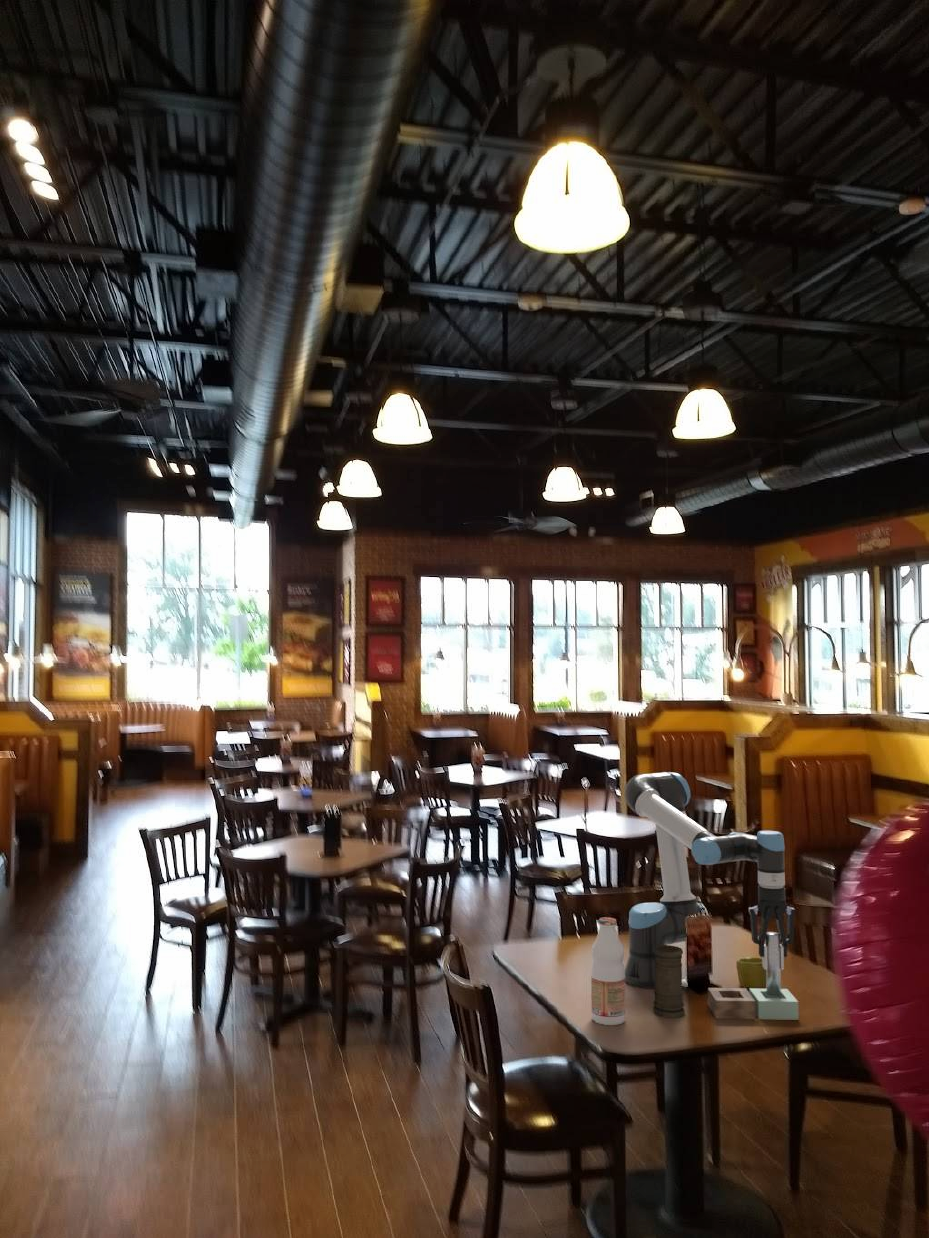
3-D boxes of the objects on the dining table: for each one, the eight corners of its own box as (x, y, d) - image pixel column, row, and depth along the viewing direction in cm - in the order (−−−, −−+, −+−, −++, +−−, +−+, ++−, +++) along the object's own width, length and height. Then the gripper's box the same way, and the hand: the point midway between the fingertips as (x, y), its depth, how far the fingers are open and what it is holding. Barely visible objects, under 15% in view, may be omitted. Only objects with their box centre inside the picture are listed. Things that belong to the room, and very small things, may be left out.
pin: (768, 996, 279) (767, 935, 280) (764, 991, 283) (763, 931, 284) (782, 996, 279) (781, 935, 280) (778, 991, 283) (777, 931, 284)
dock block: (759, 1019, 276) (758, 1001, 276) (749, 1005, 287) (749, 988, 287) (798, 1019, 275) (798, 1001, 275) (787, 1006, 286) (787, 988, 286)
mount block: (716, 1018, 276) (715, 1000, 276) (708, 1004, 287) (707, 987, 287) (755, 1019, 276) (755, 1001, 276) (746, 1005, 287) (745, 988, 287)
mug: (776, 987, 297) (764, 953, 300) (743, 995, 299) (731, 962, 302) (774, 982, 309) (763, 950, 312) (742, 990, 311) (731, 958, 314)
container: (678, 1019, 275) (677, 955, 276) (648, 1014, 280) (647, 950, 281) (689, 1010, 283) (688, 947, 284) (659, 1004, 288) (658, 942, 288)
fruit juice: (586, 1022, 273) (585, 920, 275) (598, 1011, 282) (597, 913, 283) (618, 1028, 269) (617, 925, 270) (629, 1017, 277) (629, 917, 278)
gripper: (744, 888, 279) (746, 971, 278) (805, 888, 279) (807, 972, 277) (738, 882, 287) (740, 963, 286) (797, 883, 286) (799, 964, 285)
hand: (773, 967), depth 281 cm, fingers closed on pin, 4 cm apart
